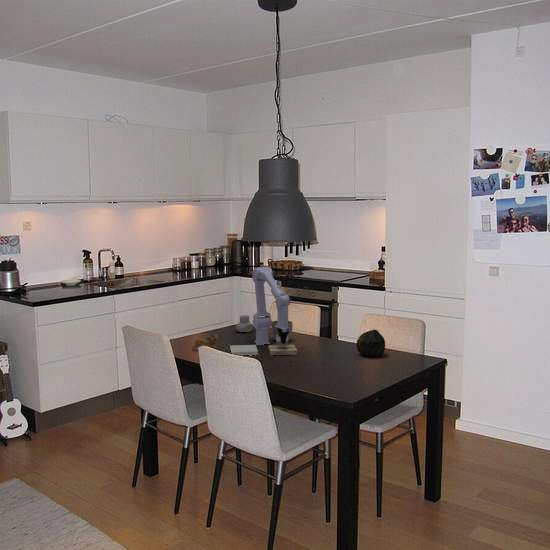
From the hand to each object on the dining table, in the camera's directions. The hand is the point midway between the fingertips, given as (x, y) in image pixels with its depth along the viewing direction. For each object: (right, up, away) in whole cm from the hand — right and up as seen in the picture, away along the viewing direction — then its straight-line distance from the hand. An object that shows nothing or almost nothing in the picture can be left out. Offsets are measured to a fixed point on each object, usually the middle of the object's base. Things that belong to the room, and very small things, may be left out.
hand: (282, 342), depth 327 cm
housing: (0, -1, 0) cm, 1 cm away
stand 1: (-21, -6, -1) cm, 22 cm away
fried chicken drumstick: (-42, -5, +4) cm, 42 cm away
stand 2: (0, -6, +1) cm, 6 cm away
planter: (0, -2, +27) cm, 27 cm away
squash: (+47, -7, -5) cm, 48 cm away
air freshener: (-23, +1, +49) cm, 54 cm away
